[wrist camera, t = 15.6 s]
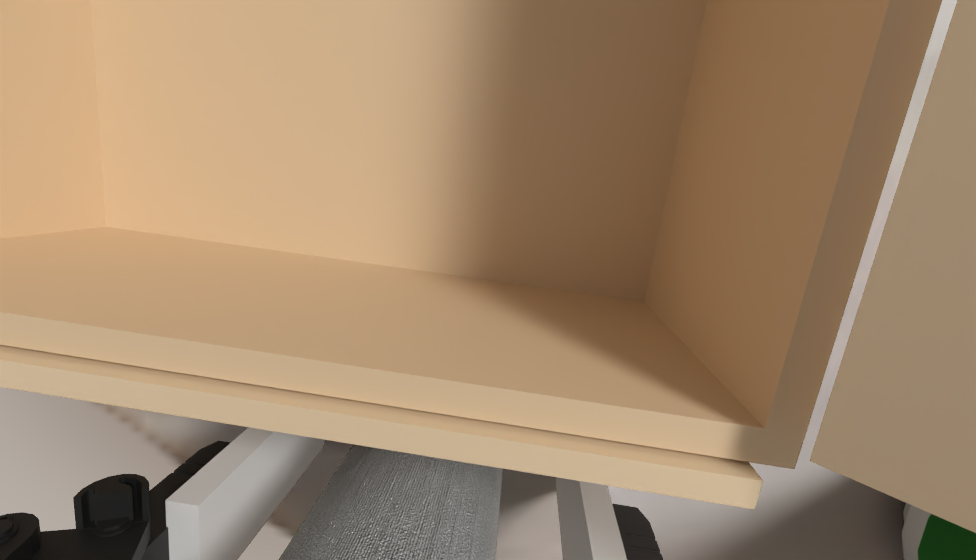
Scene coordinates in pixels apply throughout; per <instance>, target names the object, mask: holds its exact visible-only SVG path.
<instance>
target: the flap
mask: <svg viewBox="0 0 976 560" xmlns="http://www.w3.org/2000/svg"><path fill="white" fill-rule="evenodd" d="M810 461H811V462H814V463H816V464H818V465H821V466H823V467H825V468H827V469H830V470H832V471H834V472H837V473H839V474H841V475H844V476H846V477H848V478H850V479H853V480H855V481H857V482H860V483H862V484H864V485H867V486H869V487H871V488H873V489H876V490H878V491H880V492H883V493H885V494H887V495H889V496H892V497H894V498H896V499H899V500H901V501H903V502H906V503H908V504H910V505H912V506H915V507H917V508H919V509H922V510H924V511H926V512H929V513H931V514H933V515H935V516H938V517H940V518H942V519H945V520H947V521H949V522H952V523H954V524H956V525H958V526H961V527H963V528H965V529H968V530H970V531H972V532H975V533H976V0H957V4H956V7H955V10H954V13H953V16H952V19H951V22H950V25H949V28H948V32H947V35H946V38H945V41H944V44H943V47H942V50H941V53H940V56H939V59H938V63H937V66H936V69H935V72H934V75H933V78H932V81H931V84H930V87H929V91H928V94H927V97H926V100H925V103H924V106H923V109H922V112H921V115H920V119H919V122H918V125H917V128H916V131H915V134H914V137H913V140H912V143H911V147H910V150H909V153H908V156H907V159H906V162H905V165H904V168H903V171H902V175H901V178H900V181H899V184H898V187H897V190H896V193H895V196H894V199H893V203H892V206H891V209H890V212H889V215H888V218H887V221H886V224H885V227H884V231H883V234H882V237H881V240H880V243H879V246H878V249H877V252H876V255H875V259H874V262H873V265H872V268H871V271H870V274H869V277H868V280H867V283H866V286H865V290H864V293H863V296H862V299H861V302H860V305H859V308H858V311H857V314H856V318H855V321H854V324H853V327H852V330H851V333H850V336H849V339H848V342H847V346H846V349H845V352H844V355H843V358H842V361H841V364H840V367H839V370H838V374H837V377H836V380H835V383H834V386H833V389H832V392H831V395H830V398H829V402H828V405H827V408H826V411H825V414H824V417H823V420H822V423H821V426H820V430H819V433H818V436H817V439H816V442H815V445H814V448H813V451H812V454H811V458H810Z"/></svg>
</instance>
